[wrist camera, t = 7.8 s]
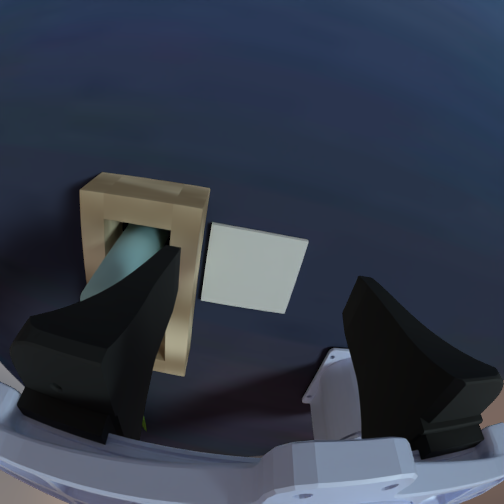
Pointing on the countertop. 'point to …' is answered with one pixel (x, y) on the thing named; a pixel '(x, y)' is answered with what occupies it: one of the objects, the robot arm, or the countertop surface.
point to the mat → (251, 268)
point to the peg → (126, 257)
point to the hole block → (159, 216)
